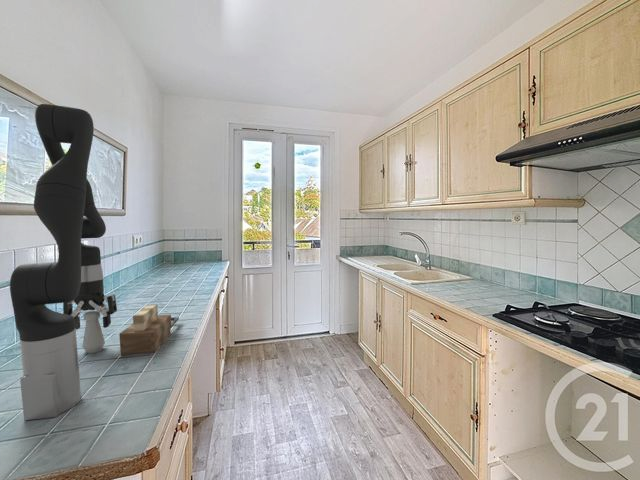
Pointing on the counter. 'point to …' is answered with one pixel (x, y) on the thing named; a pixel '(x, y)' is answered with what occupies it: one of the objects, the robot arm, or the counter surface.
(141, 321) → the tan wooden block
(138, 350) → the toolbox
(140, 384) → the counter surface
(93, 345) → the salt shaker
